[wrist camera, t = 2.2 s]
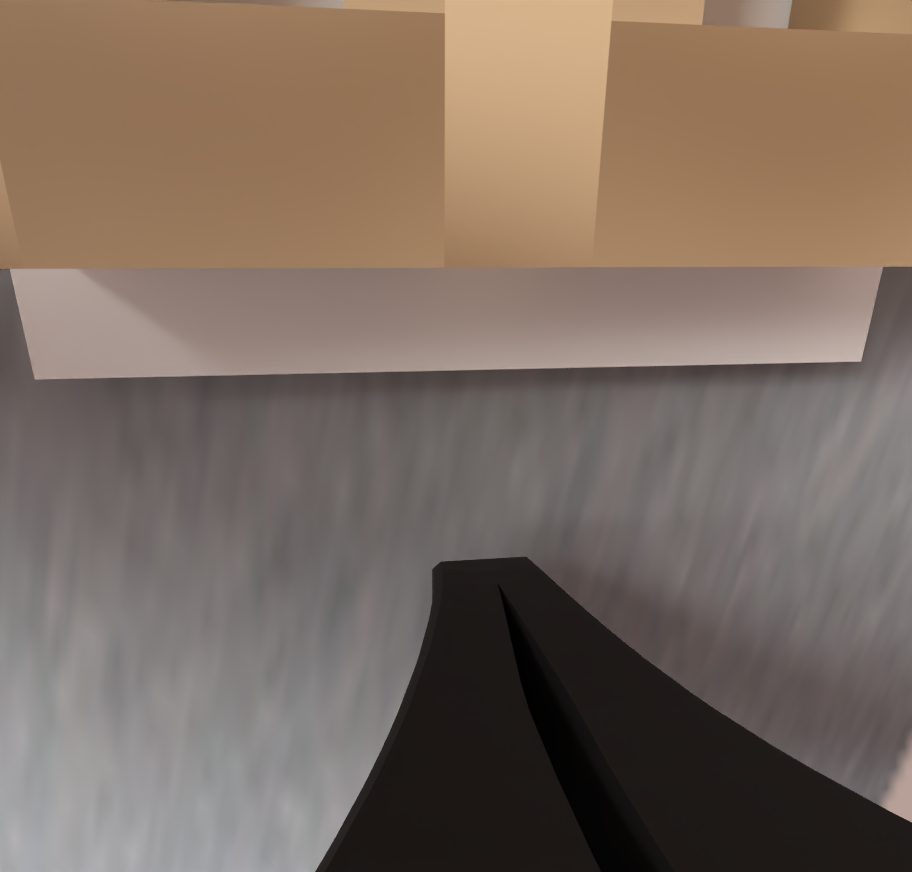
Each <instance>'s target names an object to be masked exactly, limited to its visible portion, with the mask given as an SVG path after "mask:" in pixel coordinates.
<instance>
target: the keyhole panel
mask: <svg viewBox="0 0 912 872" xmlns="http://www.w3.org/2000/svg"><path fill="white" fill-rule="evenodd" d="M704 5H705V0H345V9H340V8H318V7H295V6H273V5H251V4H229V3H207V2H185V1H163V0H0V269H160V268H559V267H912V0H792V6H791V12H790V18H789V24H788V29H781V28H759V27H737V26H715V25H702V21H703V13H704Z"/></svg>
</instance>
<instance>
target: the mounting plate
mask: <svg viewBox="0 0 912 872" xmlns="http://www.w3.org/2000/svg"><path fill="white" fill-rule="evenodd" d="M163 1H185V2H207V3H229V4H251V5H273V6H295V7H318V8H340V9H345V0H163ZM791 6H792V0H705V5H704V13H703V21H702V25H715V26H737V27H759V28H781V29H788V24H789V18H790V12H791ZM882 270H883V267H559V268H160V269H10V273H11V277H12V281H13V286H14V290H15V295H16V299H17V303H18V308H19V312H20V317H21V321H22V325H23V330H24V334H25V339H26V343H27V348H28V352H29V356H30V361H31V365H32V370H33V374H34V378H35V380H37V379H83V378H129V377H175V376H221V375H266V374H312V373H358V372H404V371H450V370H496V369H541V368H587V367H633V366H679V365H725V364H770V363H816V362H861V360H862V356H863V351H864V347H865V343H866V339H867V334H868V330H869V326H870V321H871V317H872V313H873V309H874V304H875V300H876V296H877V291H878V287H879V283H880V278H881V274H882Z"/></svg>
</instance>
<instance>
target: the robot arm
mask: <svg viewBox="0 0 912 872" xmlns="http://www.w3.org/2000/svg"><path fill="white" fill-rule="evenodd" d="M315 872H912V822H910V821H908V820H906V819H904V818H902V817H899V816H898V815H896V814H894V813H892V812H890V811H888V810H886V809H884V808H882V807H881V806H879V805H877V804H875V803H873V802H871V801H870V800H868V799H866V798H864V797H862V796H860V795H859V794H857V793H855V792H853V791H851V790H850V789H848V788H846V787H844V786H842V785H840V784H839V783H837V782H835V781H833V780H831V779H829V778H828V777H826V776H824V775H822V774H820V773H818V772H817V771H815V770H813V769H811V768H809V767H808V766H806V765H804V764H803V763H801V762H799V761H797V760H796V759H794V758H792V757H791V756H789V755H787V754H786V753H784V752H782V751H780V750H779V749H777V748H775V747H774V746H772V745H770V744H769V743H767V742H766V741H764V740H763V739H761V738H759V737H758V736H756V735H755V734H753V733H752V732H750V731H748V730H747V729H745V728H744V727H742V726H741V725H739V724H737V723H736V722H734V721H733V720H731V719H730V718H728V717H726V716H725V715H723V714H722V713H720V712H719V711H717V710H715V709H714V708H713V707H711V706H710V705H708V704H707V703H705V702H704V701H702V700H701V699H699V698H698V697H696V696H695V695H694V694H692V693H691V692H689V691H688V690H686V689H685V688H684V687H682V686H681V685H680V684H678V683H677V682H676V681H674V680H673V679H672V678H670V677H669V676H668V675H666V674H665V673H663V672H662V671H661V670H659V669H658V668H657V667H655V666H654V665H653V664H651V663H650V662H649V661H647V660H646V659H645V658H643V657H642V656H641V655H640V654H638V653H637V652H636V651H635V650H633V649H632V648H631V647H629V646H628V645H627V644H626V643H624V642H623V641H622V640H621V639H619V638H618V637H617V636H616V635H615V634H613V633H612V632H611V631H610V630H609V629H607V628H606V627H605V626H604V625H603V624H601V623H600V622H599V621H598V620H597V619H596V618H594V617H593V616H592V615H591V614H590V613H589V612H587V611H586V610H585V609H584V608H583V607H582V606H581V605H579V604H578V603H577V602H576V601H575V600H574V599H573V598H572V597H570V596H569V595H568V594H567V593H566V592H565V591H564V590H563V589H561V588H560V587H559V586H558V585H557V584H556V583H555V582H554V581H553V580H552V579H550V578H549V577H548V576H547V575H546V574H545V573H544V572H543V571H542V570H541V569H540V568H538V567H537V566H536V565H535V564H534V563H533V562H532V561H531V560H529V559H528V558H527V557H514V558H496V559H479V560H462V561H445V562H440V563H439V564H438V565H437V566H435V567H434V568H433V569H432V607H431V612H430V617H429V622H428V625H427V629H426V632H425V636H424V640H423V643H422V647H421V651H420V654H419V657H418V660H417V663H416V666H415V669H414V672H413V674H412V677H411V680H410V682H409V685H408V688H407V690H406V693H405V696H404V698H403V701H402V704H401V706H400V709H399V711H398V714H397V716H396V719H395V721H394V723H393V725H392V728H391V730H390V732H389V735H388V737H387V739H386V741H385V743H384V746H383V748H382V750H381V752H380V754H379V756H378V758H377V760H376V762H375V764H374V766H373V768H372V770H371V772H370V774H369V776H368V778H367V780H366V782H365V784H364V786H363V788H362V790H361V792H360V794H359V795H358V797H357V799H356V801H355V803H354V805H353V806H352V808H351V810H350V812H349V814H348V816H347V817H346V819H345V821H344V823H343V825H342V827H341V828H340V830H339V832H338V834H337V836H336V838H335V839H334V841H333V843H332V844H331V846H330V848H329V850H328V851H327V853H326V855H325V856H324V858H323V860H322V861H321V863H320V865H319V866H318V868H317V870H316V871H315Z"/></svg>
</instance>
